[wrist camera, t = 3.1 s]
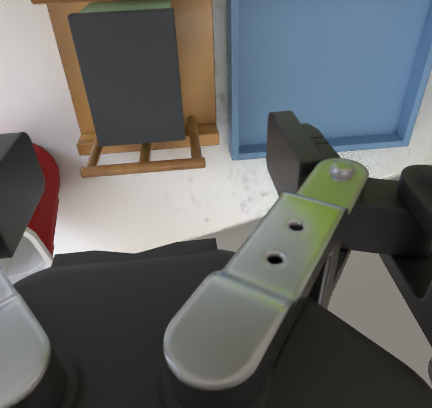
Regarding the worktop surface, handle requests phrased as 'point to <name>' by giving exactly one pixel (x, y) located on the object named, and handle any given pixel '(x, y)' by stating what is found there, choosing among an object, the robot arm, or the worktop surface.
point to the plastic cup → (37, 227)
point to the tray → (327, 69)
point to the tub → (130, 70)
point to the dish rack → (189, 78)
